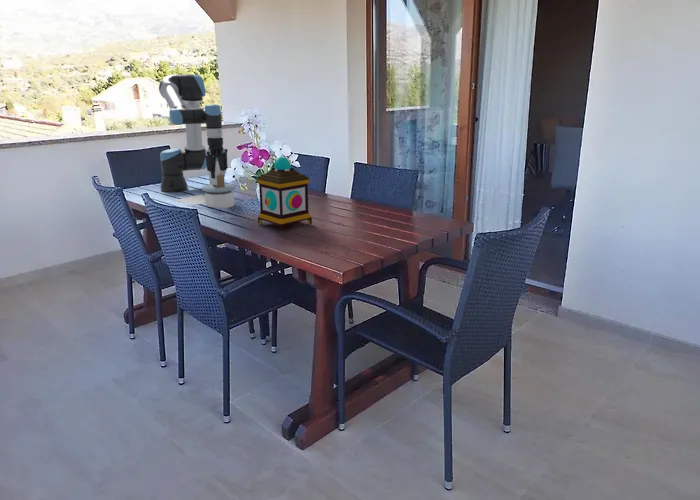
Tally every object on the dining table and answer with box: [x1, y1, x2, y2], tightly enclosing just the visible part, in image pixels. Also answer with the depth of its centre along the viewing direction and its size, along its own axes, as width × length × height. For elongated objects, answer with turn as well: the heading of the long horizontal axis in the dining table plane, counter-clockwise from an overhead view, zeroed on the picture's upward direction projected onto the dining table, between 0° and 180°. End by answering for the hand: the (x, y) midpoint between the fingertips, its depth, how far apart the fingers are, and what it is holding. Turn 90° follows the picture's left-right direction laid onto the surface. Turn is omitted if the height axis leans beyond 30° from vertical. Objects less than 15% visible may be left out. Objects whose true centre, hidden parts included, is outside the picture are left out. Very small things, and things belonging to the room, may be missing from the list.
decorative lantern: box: [255, 156, 313, 233], centre depth 220 cm, size 20×20×30 cm
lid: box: [201, 174, 237, 192], centre depth 256 cm, size 17×17×7 cm
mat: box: [173, 194, 206, 206], centre depth 270 cm, size 18×18×1 cm
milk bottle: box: [208, 158, 220, 185], centre depth 286 cm, size 8×8×20 cm
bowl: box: [204, 190, 235, 209], centre depth 259 cm, size 14×14×7 cm
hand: (218, 183), depth 256 cm, fingers closed on lid, 4 cm apart
